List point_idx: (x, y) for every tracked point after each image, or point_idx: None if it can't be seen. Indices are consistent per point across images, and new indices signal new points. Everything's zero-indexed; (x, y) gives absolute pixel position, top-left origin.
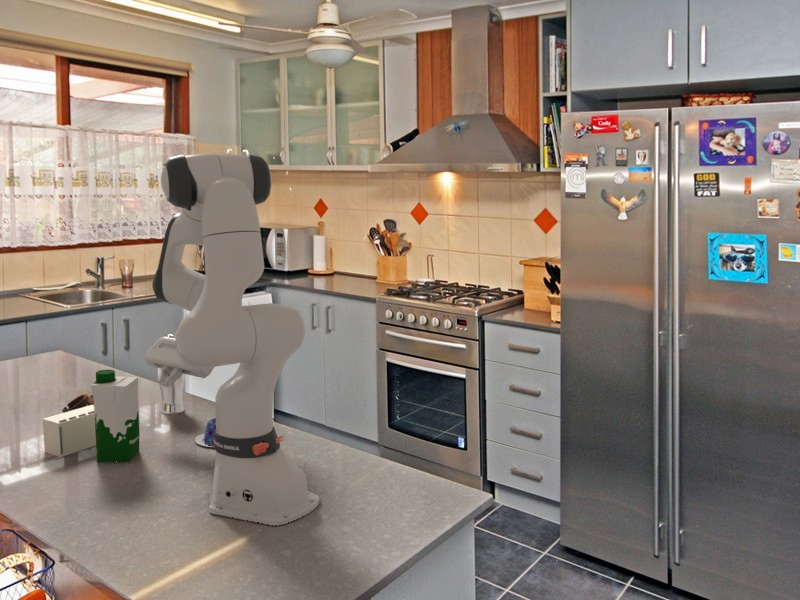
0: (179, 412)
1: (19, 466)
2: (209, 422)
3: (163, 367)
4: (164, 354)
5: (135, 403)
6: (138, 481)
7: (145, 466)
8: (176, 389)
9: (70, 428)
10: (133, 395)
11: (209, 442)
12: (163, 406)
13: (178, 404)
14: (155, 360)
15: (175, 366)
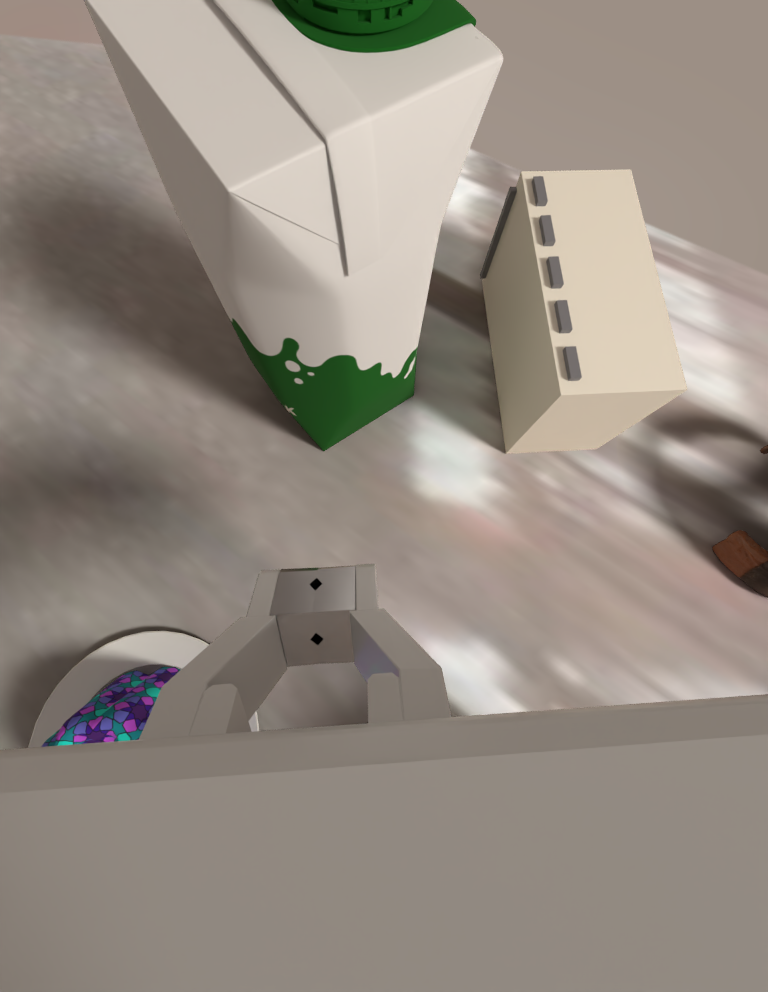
0: None
1: (503, 191)
2: (131, 732)
3: (433, 698)
4: (622, 928)
5: (199, 256)
6: (118, 303)
7: (194, 383)
8: None
9: (515, 246)
10: (174, 192)
11: (148, 676)
12: None
13: None
14: (655, 718)
15: (163, 740)
